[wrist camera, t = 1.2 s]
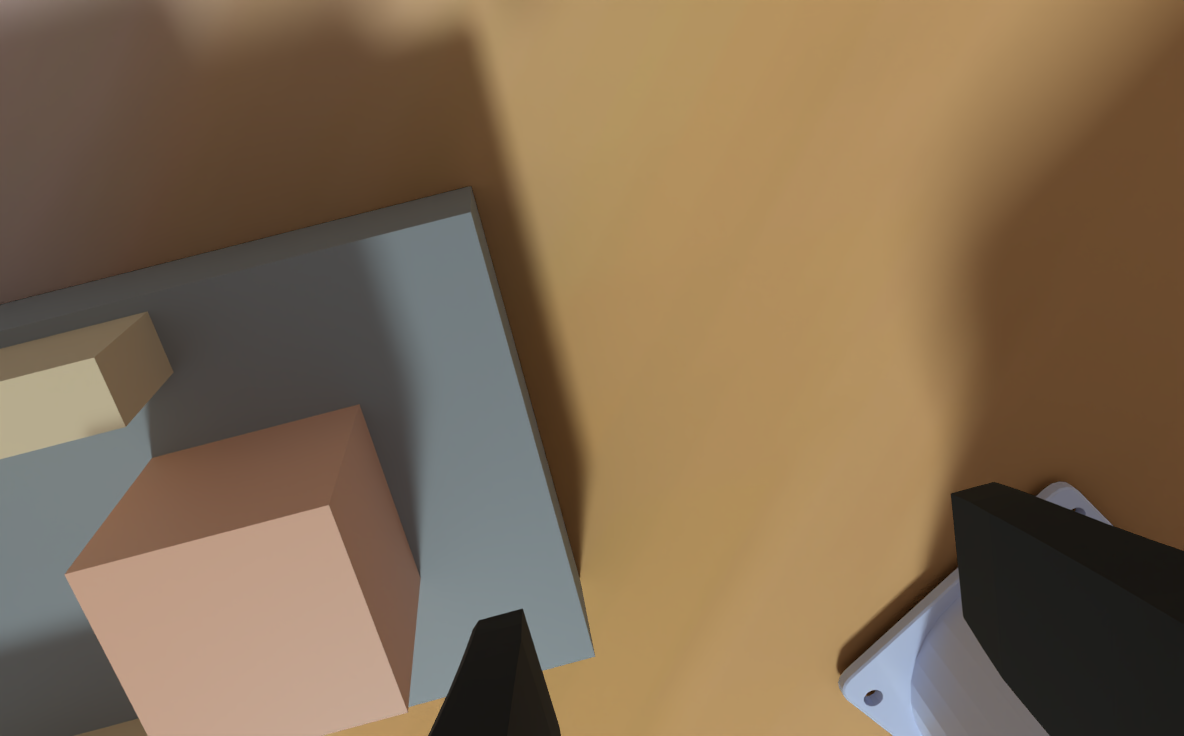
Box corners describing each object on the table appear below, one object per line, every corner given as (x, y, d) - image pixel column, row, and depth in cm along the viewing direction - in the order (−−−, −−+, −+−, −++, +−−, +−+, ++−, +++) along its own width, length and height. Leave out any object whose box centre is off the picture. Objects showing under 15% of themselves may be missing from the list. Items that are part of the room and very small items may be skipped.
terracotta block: (359, 404, 18) (329, 504, 14) (420, 578, 19) (407, 711, 15) (151, 457, 17) (64, 574, 14) (229, 629, 19) (169, 777, 15)
